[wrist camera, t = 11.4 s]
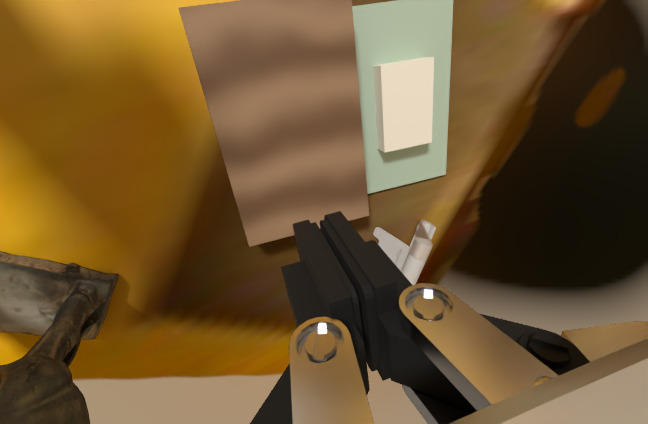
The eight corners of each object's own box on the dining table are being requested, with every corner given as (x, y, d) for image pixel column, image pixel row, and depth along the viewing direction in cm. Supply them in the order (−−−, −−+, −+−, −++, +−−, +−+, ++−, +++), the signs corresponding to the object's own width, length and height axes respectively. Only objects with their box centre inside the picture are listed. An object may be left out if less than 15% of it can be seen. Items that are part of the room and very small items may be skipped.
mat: (342, 8, 30) (343, 7, 30) (451, -7, 32) (453, -7, 32) (359, 194, 39) (361, 195, 39) (443, 173, 42) (445, 174, 41)
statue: (205, 287, 39) (175, 568, 17) (176, 348, 42) (117, 659, 20) (-68, 221, 29) (-1028, 722, 7) (-84, 308, 31) (-812, 872, 9)
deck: (184, 15, 27) (178, 7, 24) (336, -4, 30) (350, -13, 26) (247, 229, 37) (249, 246, 34) (356, 202, 40) (369, 215, 36)
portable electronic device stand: (406, 271, 47) (438, 309, 40) (360, 267, 44) (386, 306, 37) (428, 220, 44) (467, 251, 37) (380, 212, 42) (412, 244, 34)
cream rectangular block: (434, 56, 32) (423, 57, 34) (380, 65, 31) (372, 65, 33) (431, 142, 36) (422, 138, 38) (384, 152, 35) (377, 148, 37)
